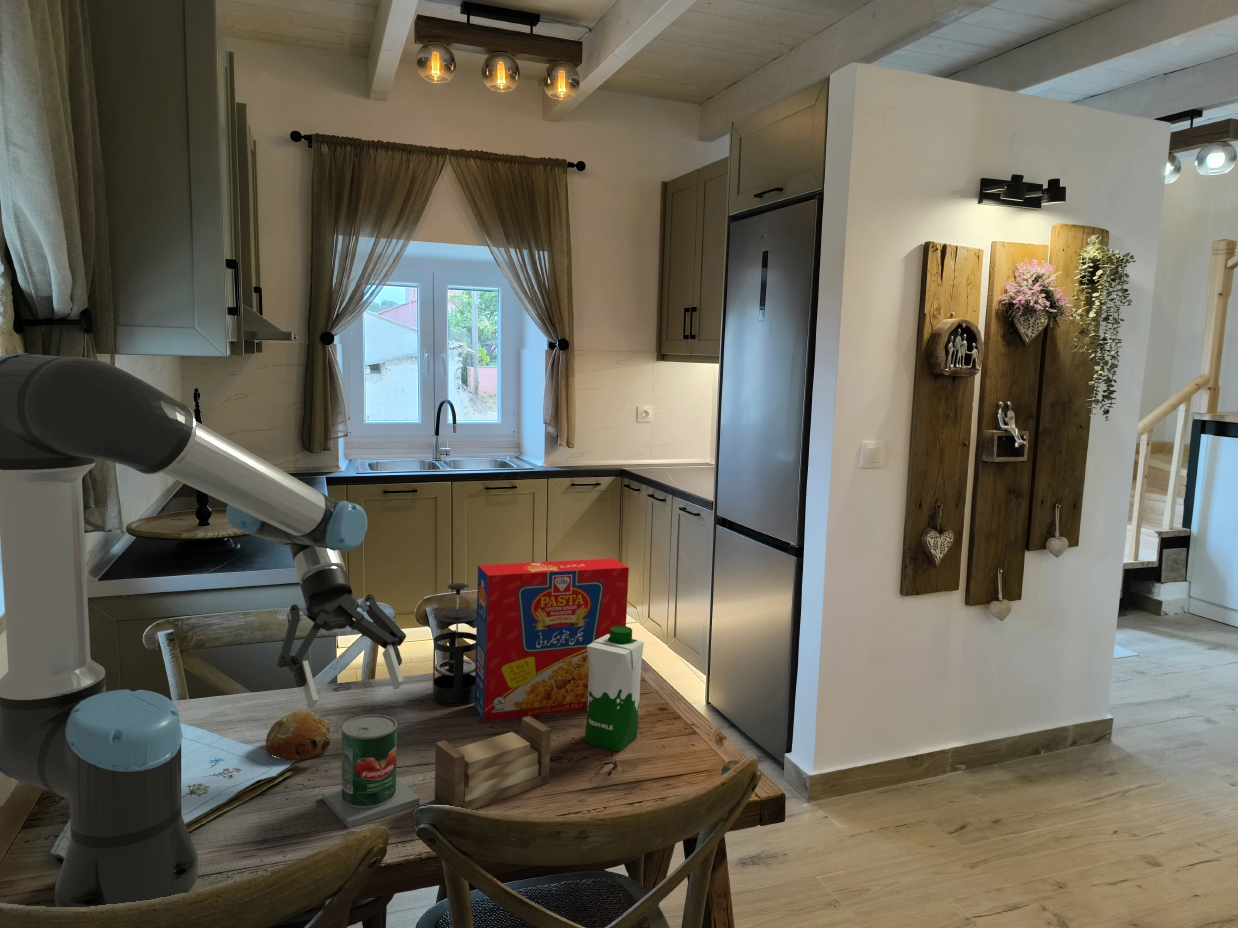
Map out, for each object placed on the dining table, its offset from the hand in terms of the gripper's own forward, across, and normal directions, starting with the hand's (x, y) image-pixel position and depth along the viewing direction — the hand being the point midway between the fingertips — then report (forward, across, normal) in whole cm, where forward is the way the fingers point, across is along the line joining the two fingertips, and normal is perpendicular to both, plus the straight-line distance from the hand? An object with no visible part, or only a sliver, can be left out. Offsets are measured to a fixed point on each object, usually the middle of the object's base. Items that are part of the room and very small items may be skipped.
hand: (357, 694), depth 127 cm
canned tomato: (+14, +1, -5) cm, 15 cm away
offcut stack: (+19, -16, +1) cm, 25 cm away
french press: (-5, -29, -26) cm, 39 cm away
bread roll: (-1, +3, -22) cm, 22 cm away
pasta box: (+5, -42, -16) cm, 45 cm away
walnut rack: (+20, -16, 0) cm, 26 cm away
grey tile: (+15, 0, -5) cm, 16 cm away
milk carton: (+18, -43, -2) cm, 46 cm away
